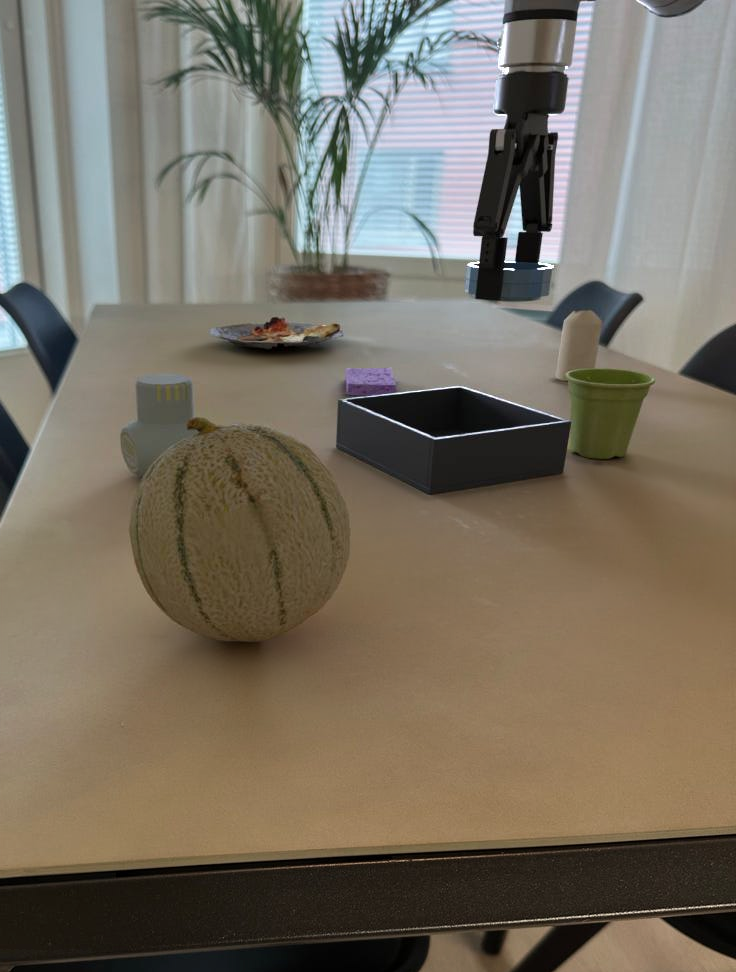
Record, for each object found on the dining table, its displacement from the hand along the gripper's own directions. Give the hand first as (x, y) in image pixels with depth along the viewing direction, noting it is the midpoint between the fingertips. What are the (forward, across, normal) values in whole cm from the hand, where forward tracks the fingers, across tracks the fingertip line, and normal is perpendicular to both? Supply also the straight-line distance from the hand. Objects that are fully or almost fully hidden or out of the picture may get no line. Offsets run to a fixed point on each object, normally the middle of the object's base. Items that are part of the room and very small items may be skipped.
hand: (506, 295), depth 107 cm
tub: (+16, +16, +2) cm, 23 cm away
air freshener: (+16, +38, -20) cm, 46 cm away
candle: (+16, -36, -2) cm, 39 cm away
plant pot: (+16, +3, +14) cm, 22 cm away
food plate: (+16, -34, -57) cm, 69 cm away
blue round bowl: (0, 0, 0) cm, 0 cm away
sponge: (+16, -12, -24) cm, 31 cm away
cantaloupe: (+16, +63, +9) cm, 66 cm away
